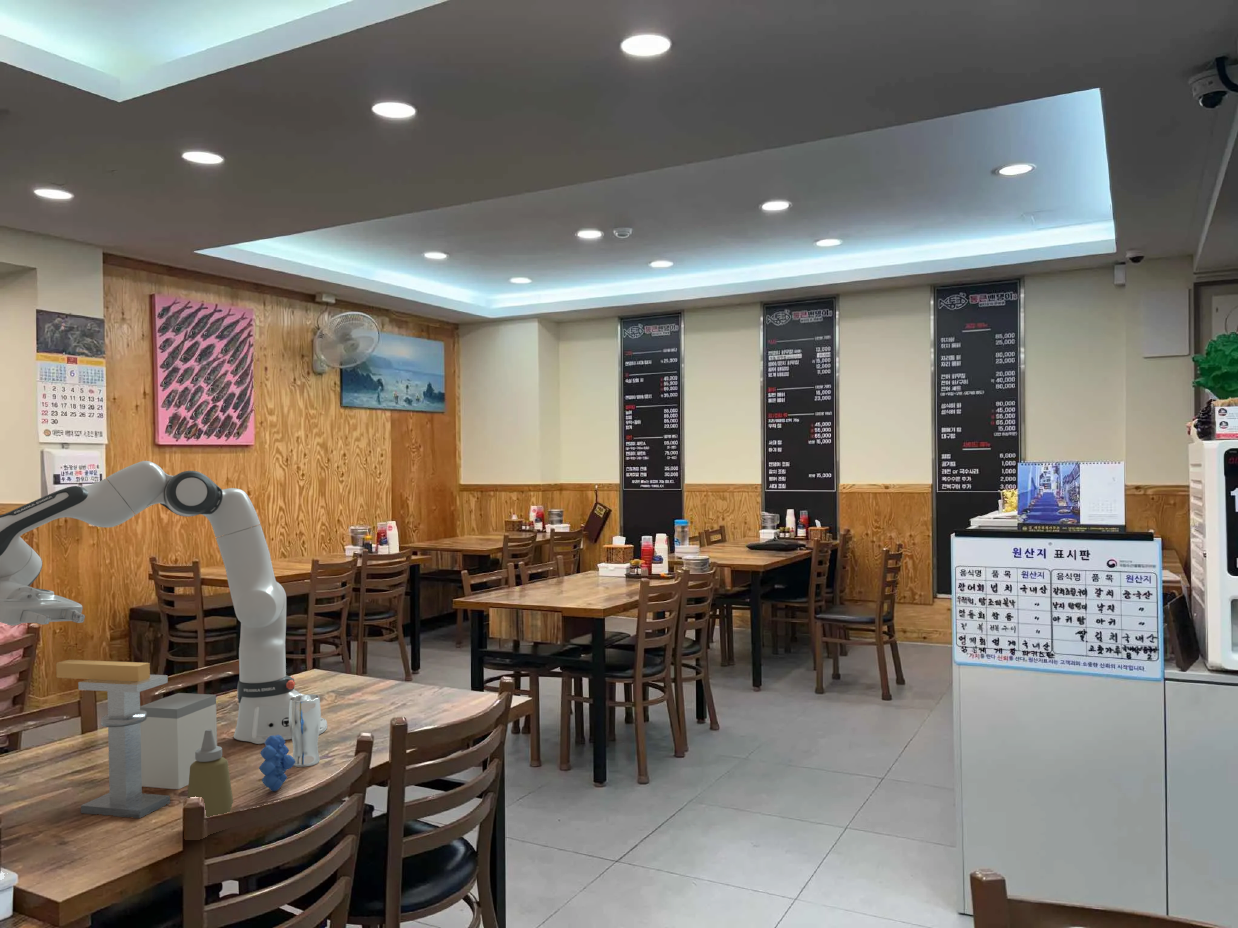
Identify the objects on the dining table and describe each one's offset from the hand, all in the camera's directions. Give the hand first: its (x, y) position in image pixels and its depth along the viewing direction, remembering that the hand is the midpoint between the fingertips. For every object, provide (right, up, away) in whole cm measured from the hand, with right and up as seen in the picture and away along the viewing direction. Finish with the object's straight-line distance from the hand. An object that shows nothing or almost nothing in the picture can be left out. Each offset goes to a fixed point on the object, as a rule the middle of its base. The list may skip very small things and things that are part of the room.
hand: (64, 619), depth 192 cm
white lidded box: (+23, -35, +3) cm, 42 cm away
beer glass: (+48, -35, +11) cm, 61 cm away
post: (+21, -35, -14) cm, 43 cm away
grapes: (+49, -35, -6) cm, 60 cm away
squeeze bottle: (+42, -35, -23) cm, 60 cm away
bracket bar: (+16, -10, -12) cm, 22 cm away
